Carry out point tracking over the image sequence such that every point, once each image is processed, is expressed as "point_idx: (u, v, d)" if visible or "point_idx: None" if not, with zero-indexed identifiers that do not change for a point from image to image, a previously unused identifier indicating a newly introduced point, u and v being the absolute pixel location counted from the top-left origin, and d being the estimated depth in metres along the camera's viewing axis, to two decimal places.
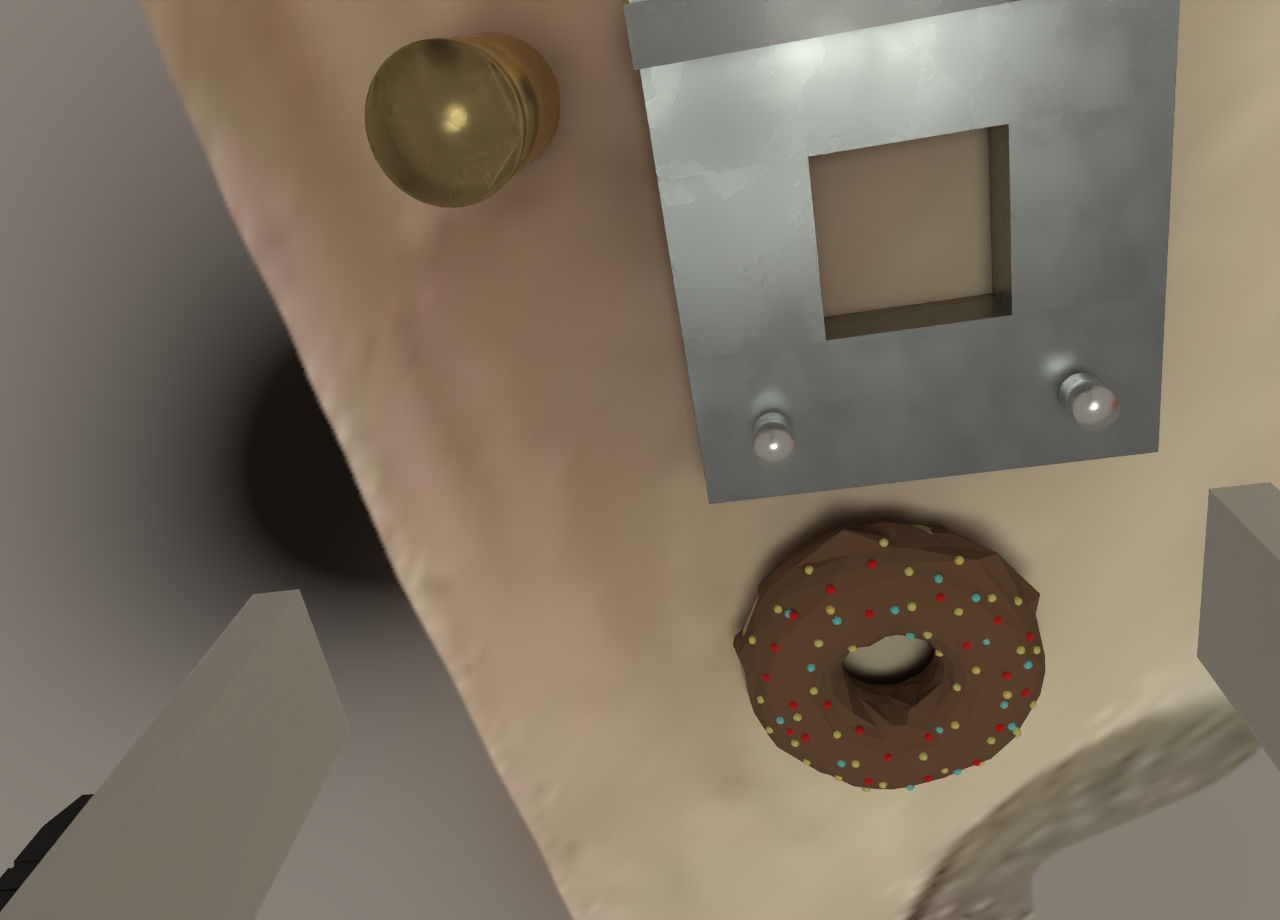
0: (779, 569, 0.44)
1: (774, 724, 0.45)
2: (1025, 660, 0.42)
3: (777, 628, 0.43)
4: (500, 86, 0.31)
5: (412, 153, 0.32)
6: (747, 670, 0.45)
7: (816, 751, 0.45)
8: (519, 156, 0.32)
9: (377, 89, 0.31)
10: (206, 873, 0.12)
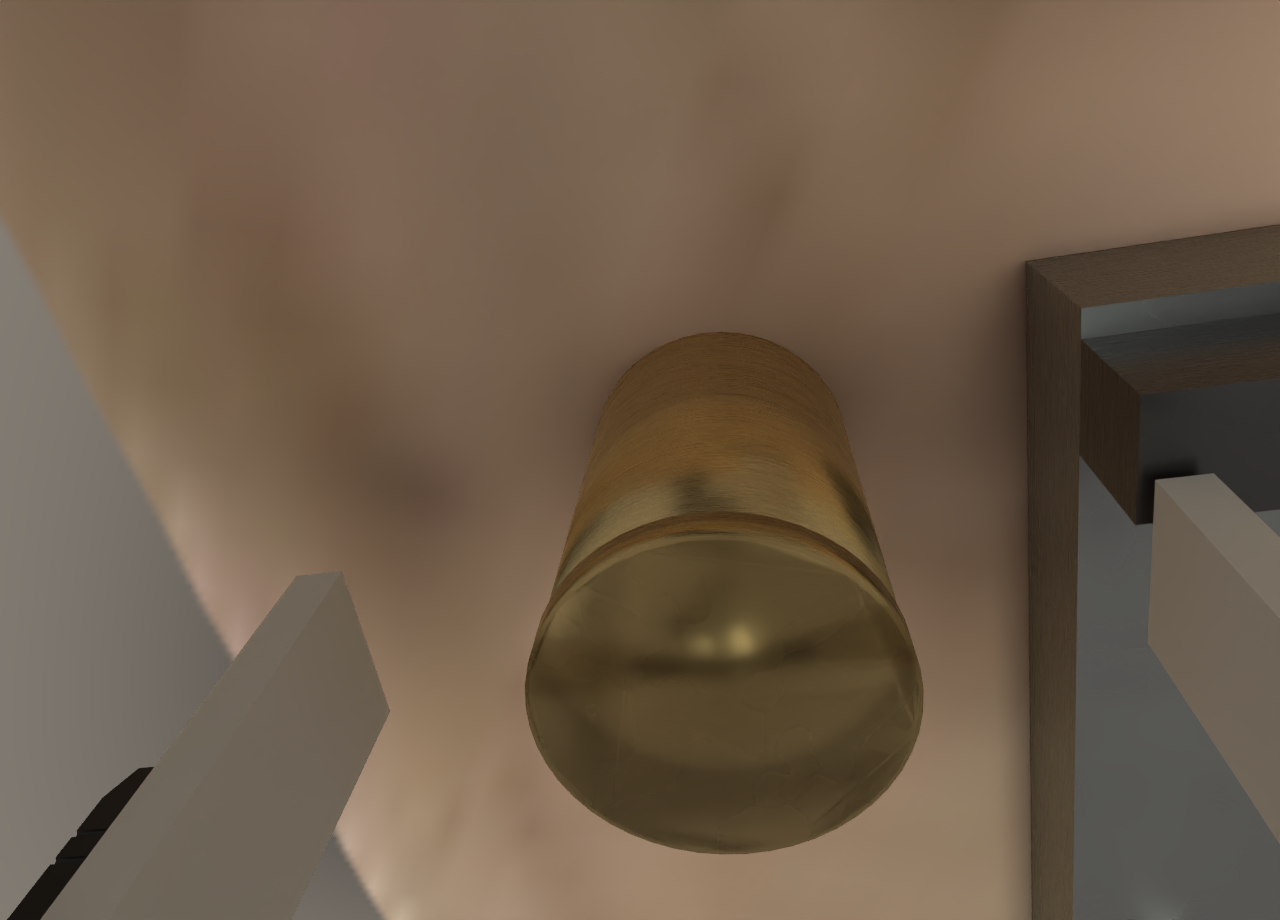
0: None
1: None
2: None
3: None
4: (880, 637, 0.12)
5: (634, 754, 0.13)
6: None
7: None
8: (897, 766, 0.13)
9: (561, 632, 0.12)
10: (261, 844, 0.12)
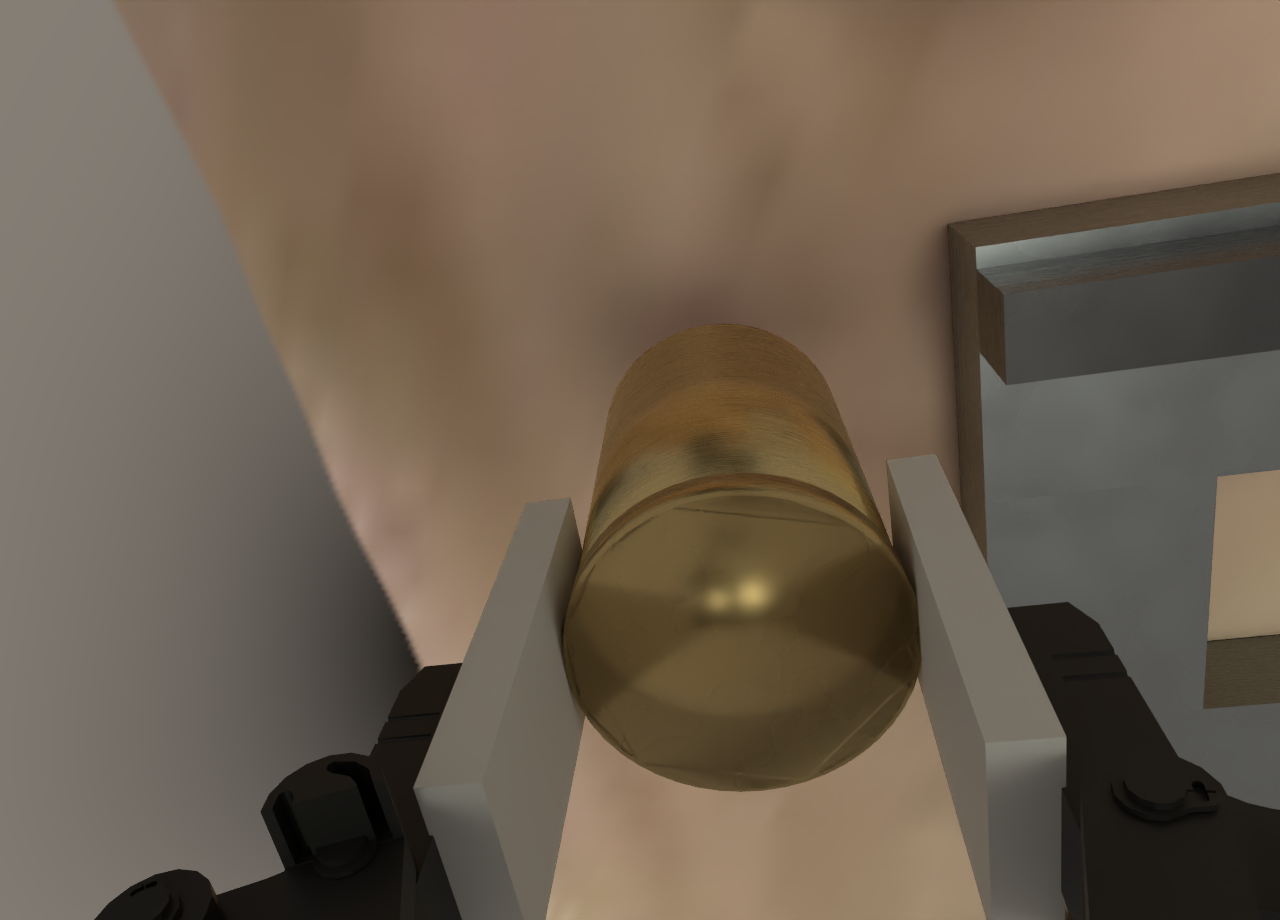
0: None
1: None
2: None
3: None
4: (884, 583, 0.13)
5: (662, 698, 0.14)
6: None
7: None
8: (900, 704, 0.14)
9: (597, 584, 0.14)
10: (549, 732, 0.13)
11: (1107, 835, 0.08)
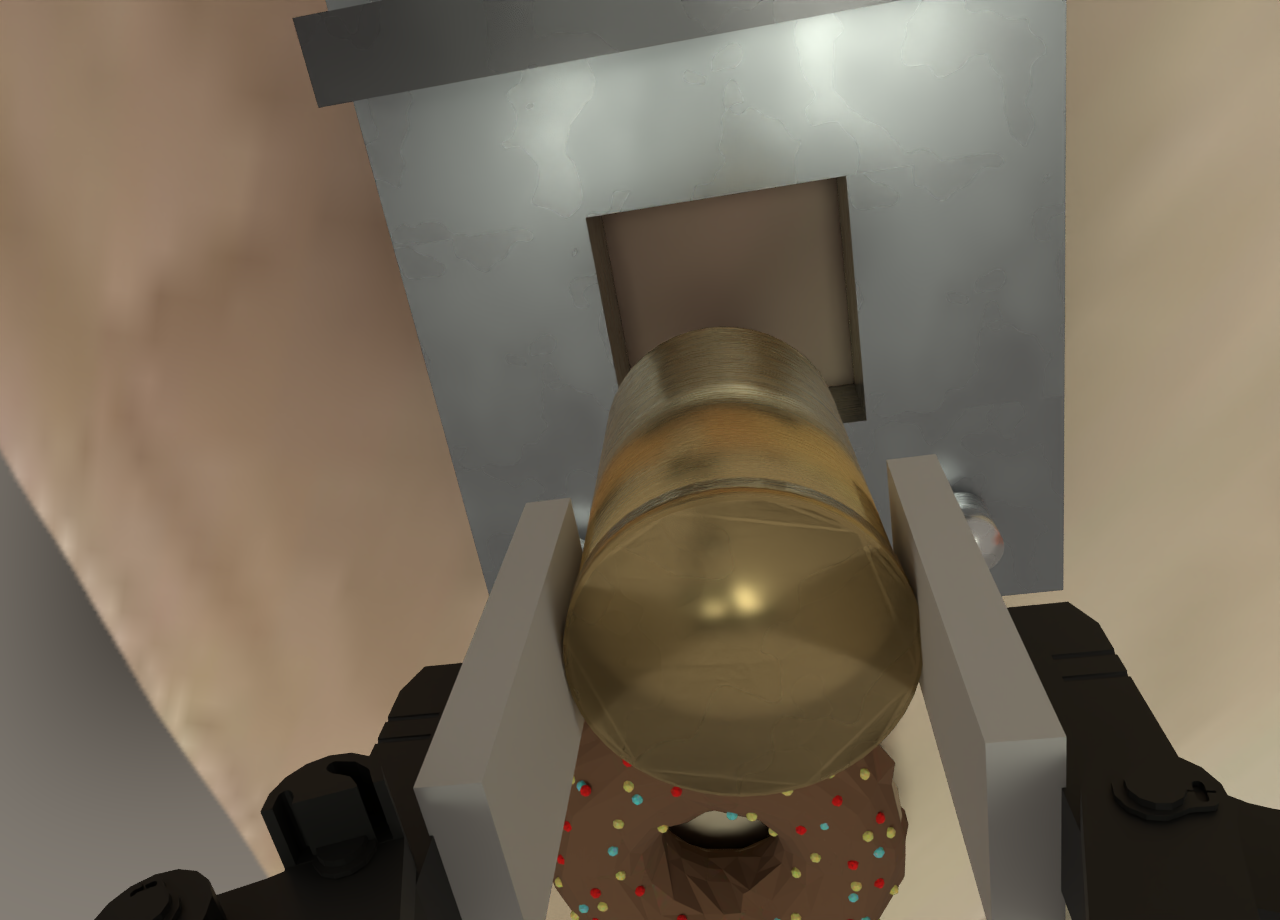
0: None
1: (578, 911, 0.37)
2: (876, 847, 0.34)
3: (571, 802, 0.35)
4: (884, 587, 0.13)
5: (662, 704, 0.14)
6: None
7: None
8: None
9: (597, 589, 0.14)
10: (549, 732, 0.13)
11: (1107, 835, 0.08)
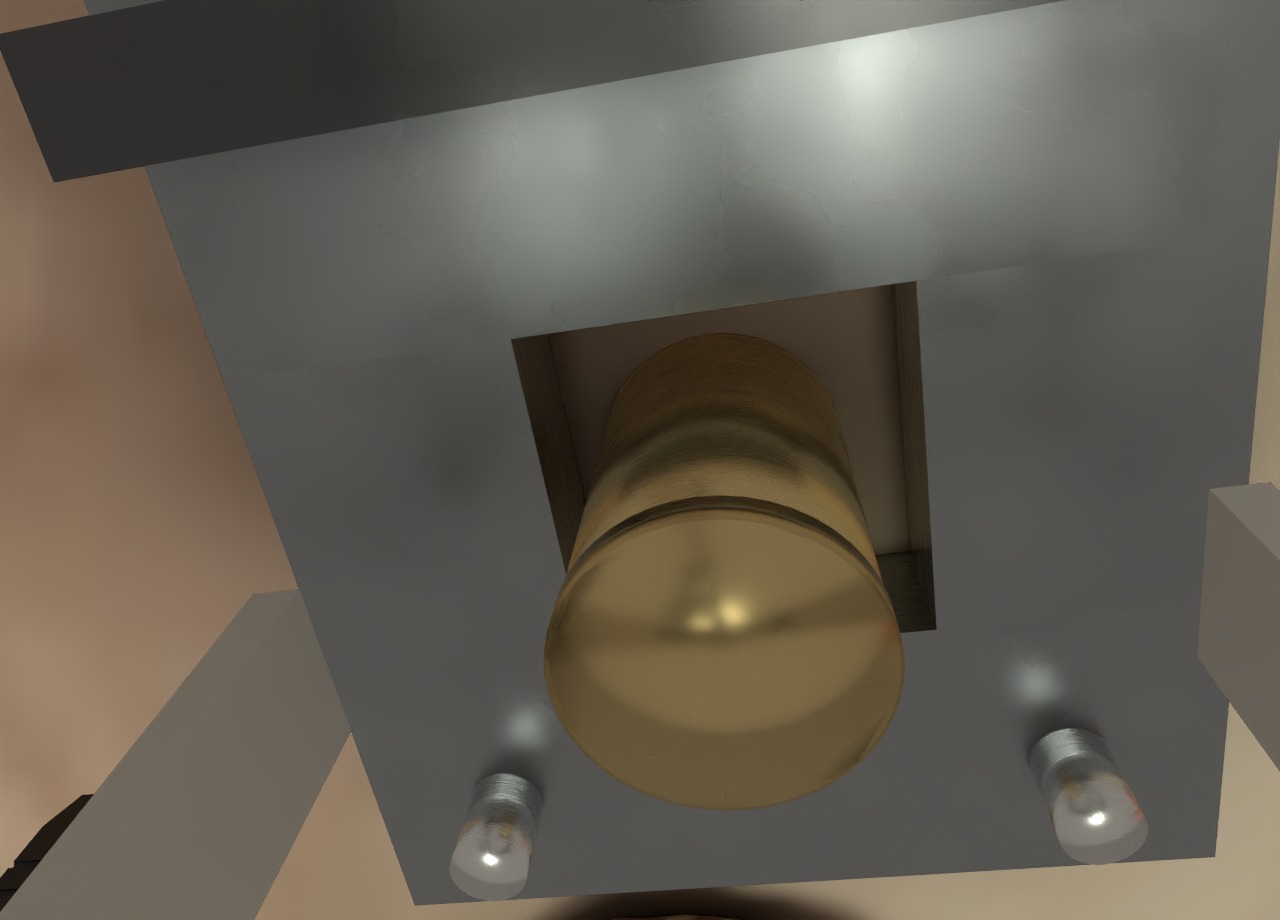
0: None
1: None
2: None
3: None
4: (864, 609, 0.13)
5: (643, 717, 0.14)
6: None
7: None
8: (882, 729, 0.14)
9: (576, 605, 0.14)
10: (206, 873, 0.12)
11: None
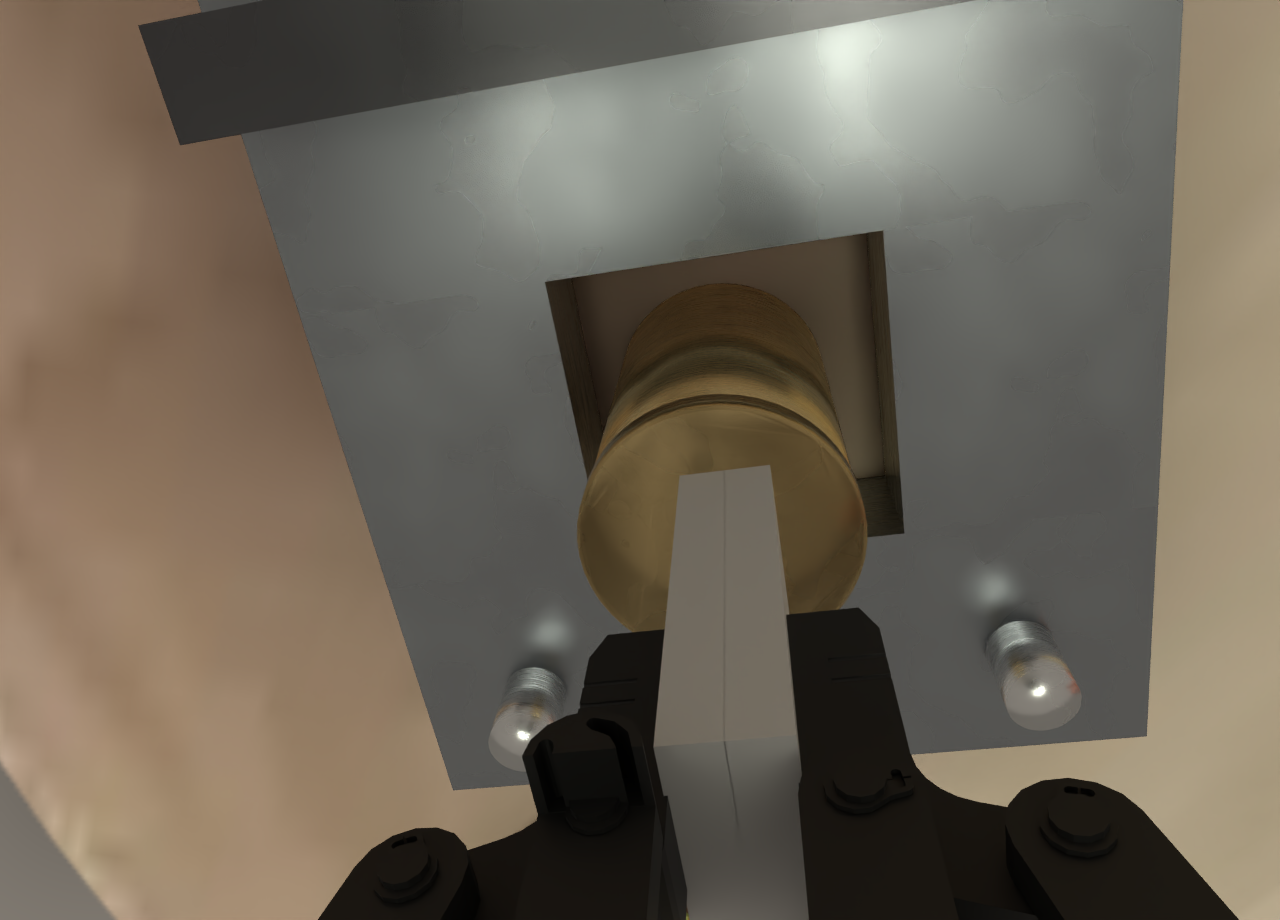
0: None
1: None
2: None
3: None
4: (834, 484, 0.17)
5: (657, 579, 0.18)
6: None
7: None
8: (850, 588, 0.18)
9: (604, 482, 0.17)
10: None
11: (823, 835, 0.09)
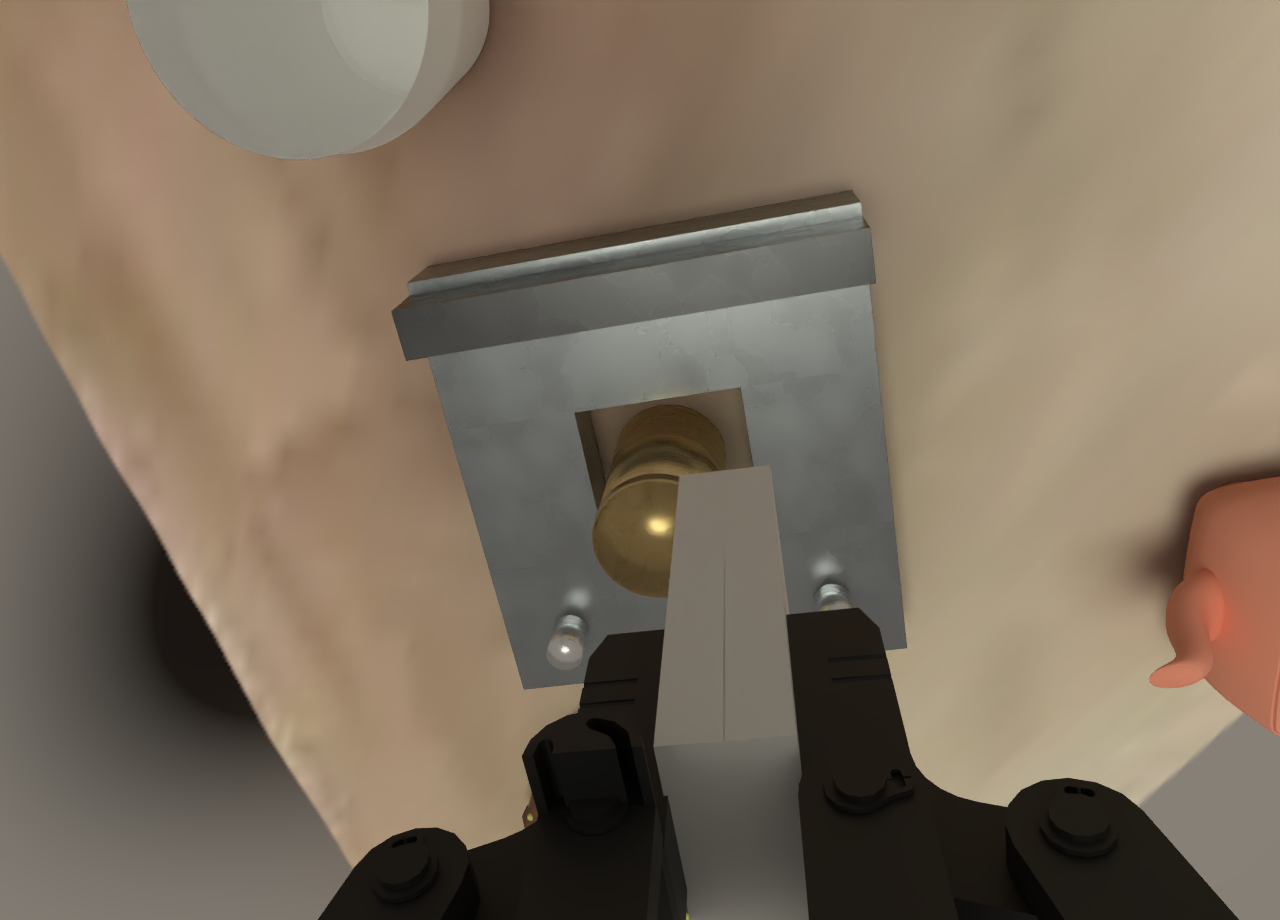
0: None
1: None
2: None
3: None
4: None
5: (629, 559, 0.38)
6: None
7: None
8: None
9: (604, 514, 0.37)
10: None
11: (822, 835, 0.09)
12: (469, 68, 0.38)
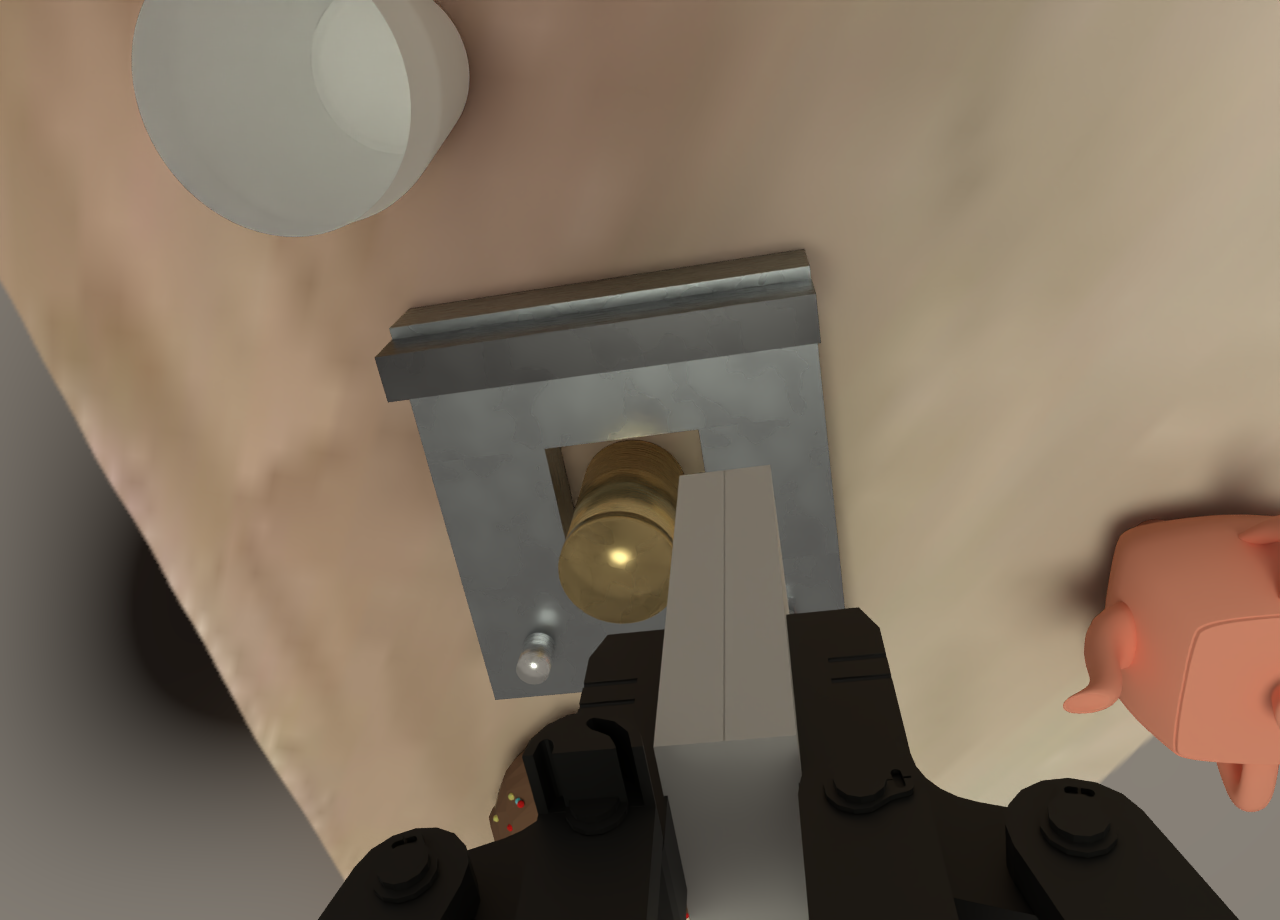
0: (515, 761, 0.53)
1: None
2: None
3: (512, 811, 0.53)
4: (664, 549, 0.40)
5: (592, 588, 0.41)
6: None
7: None
8: None
9: (569, 547, 0.41)
10: None
11: (822, 834, 0.09)
12: None
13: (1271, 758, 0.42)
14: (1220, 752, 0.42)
